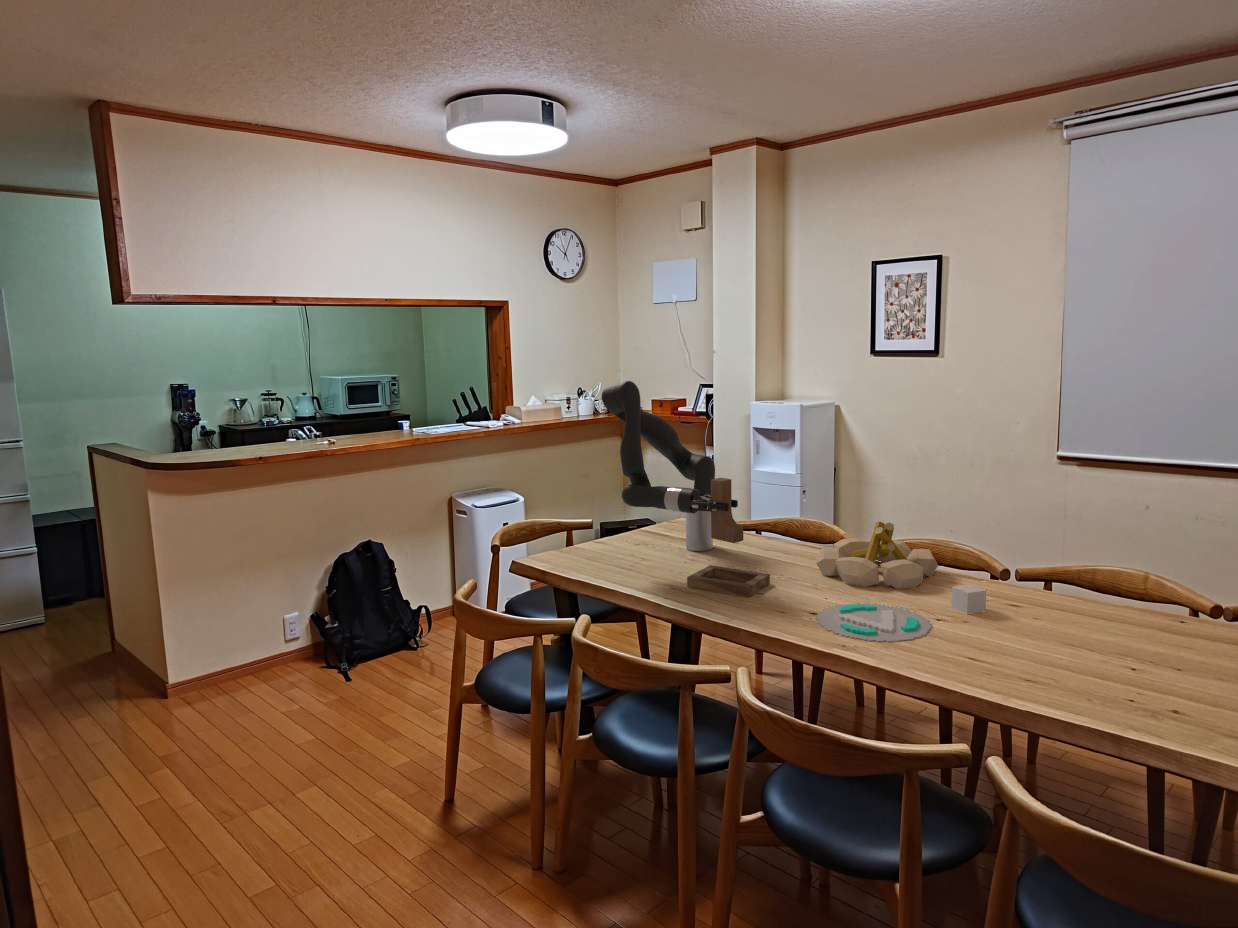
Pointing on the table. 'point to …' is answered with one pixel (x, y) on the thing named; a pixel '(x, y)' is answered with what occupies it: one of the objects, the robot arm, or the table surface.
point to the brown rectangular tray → (706, 581)
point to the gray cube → (969, 598)
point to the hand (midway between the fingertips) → (732, 505)
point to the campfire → (859, 555)
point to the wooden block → (724, 513)
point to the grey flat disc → (873, 622)
